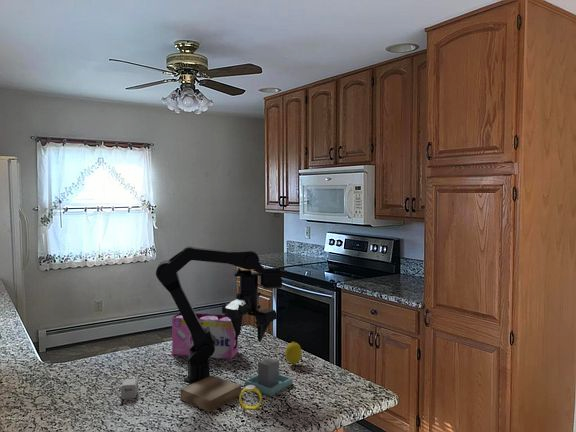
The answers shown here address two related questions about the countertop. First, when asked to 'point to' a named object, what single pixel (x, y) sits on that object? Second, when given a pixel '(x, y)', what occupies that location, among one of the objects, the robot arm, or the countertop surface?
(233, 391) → the walnut dock
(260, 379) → the plug block
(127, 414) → the countertop surface
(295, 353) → the lemon
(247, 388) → the watch
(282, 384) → the teal tray
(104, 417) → the countertop surface
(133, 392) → the usb wall charger
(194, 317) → the robot arm
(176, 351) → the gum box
